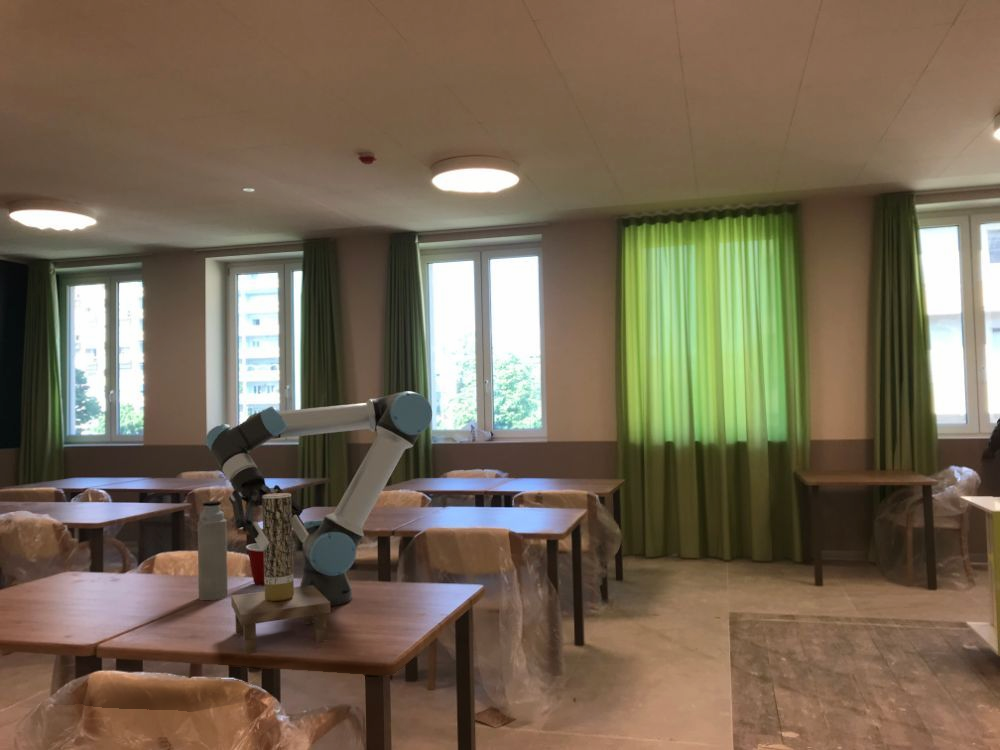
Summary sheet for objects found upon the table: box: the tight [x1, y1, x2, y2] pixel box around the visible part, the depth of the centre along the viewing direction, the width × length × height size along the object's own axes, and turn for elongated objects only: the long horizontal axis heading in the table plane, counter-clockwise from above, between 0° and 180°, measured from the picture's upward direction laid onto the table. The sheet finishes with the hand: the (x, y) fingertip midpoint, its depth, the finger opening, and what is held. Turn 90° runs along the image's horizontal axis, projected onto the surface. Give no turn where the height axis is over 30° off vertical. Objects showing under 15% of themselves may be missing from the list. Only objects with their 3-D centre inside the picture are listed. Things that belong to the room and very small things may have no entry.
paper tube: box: [261, 492, 295, 601], centre depth 183 cm, size 7×7×25 cm
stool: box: [230, 585, 331, 655], centre depth 182 cm, size 20×20×9 cm
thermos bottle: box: [197, 500, 229, 601], centre depth 223 cm, size 8×8×28 cm
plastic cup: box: [245, 542, 265, 586], centre depth 238 cm, size 11×11×12 cm
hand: (286, 542), depth 181 cm, fingers open, 11 cm apart
